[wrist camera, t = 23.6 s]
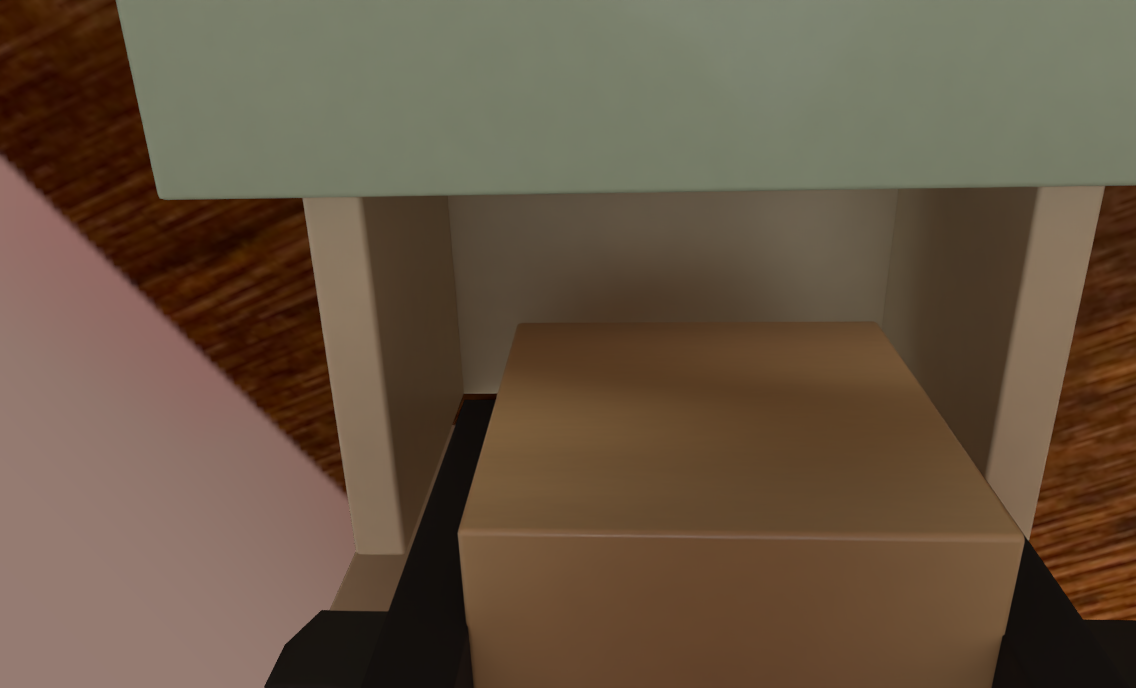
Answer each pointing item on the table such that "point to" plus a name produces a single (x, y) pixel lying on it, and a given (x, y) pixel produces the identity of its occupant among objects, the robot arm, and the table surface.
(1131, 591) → the table surface
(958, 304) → the drawer
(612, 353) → the block
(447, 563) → the robot arm
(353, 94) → the cabinet
